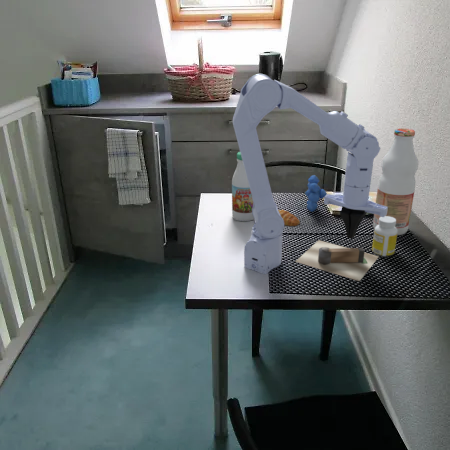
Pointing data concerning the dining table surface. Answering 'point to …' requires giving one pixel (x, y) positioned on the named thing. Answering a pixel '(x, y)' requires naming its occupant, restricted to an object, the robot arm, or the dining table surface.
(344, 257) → the pointer lever
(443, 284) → the dining table surface
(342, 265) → the dial board
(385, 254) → the supplement bottle
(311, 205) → the grapes
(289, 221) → the pastry
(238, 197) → the milk bottle
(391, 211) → the fruit juice
